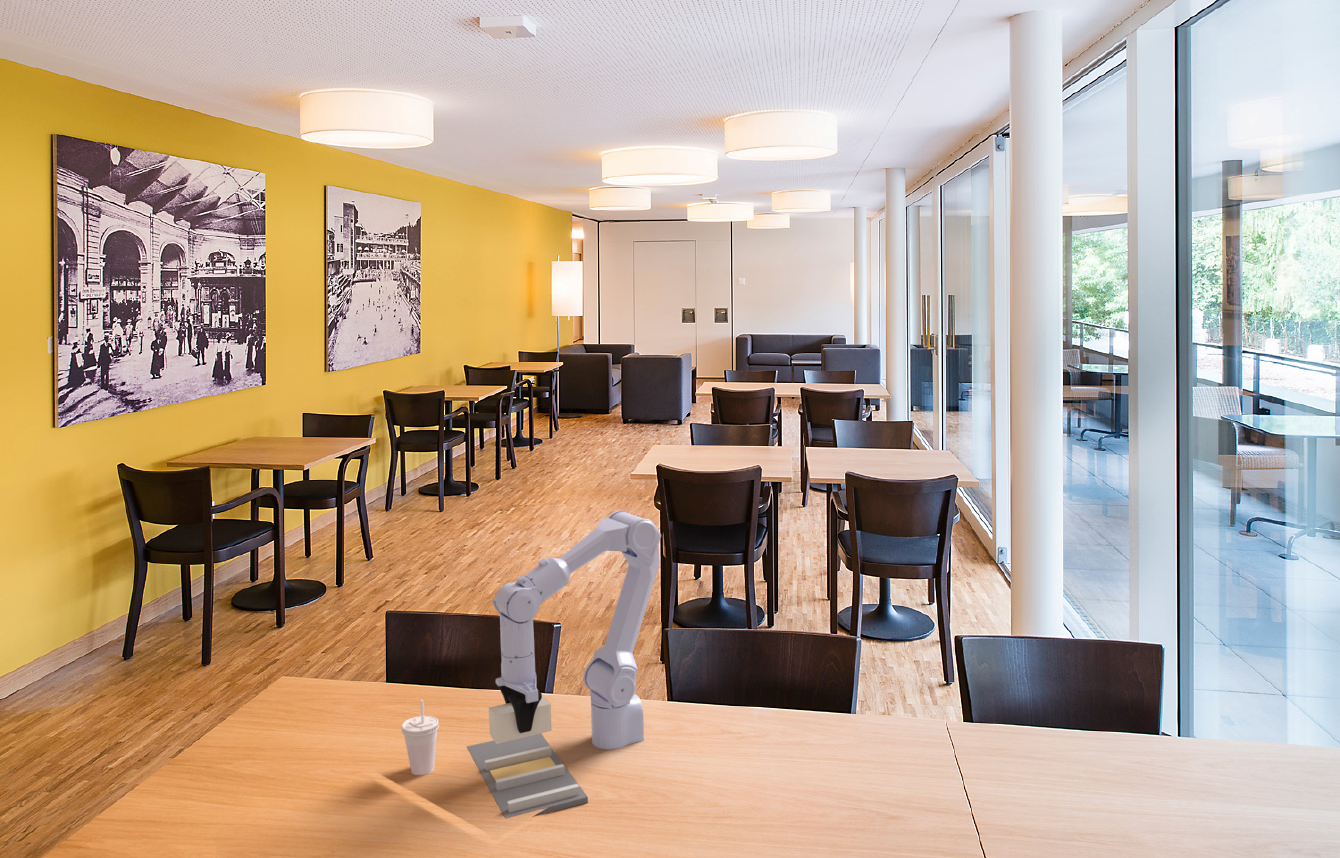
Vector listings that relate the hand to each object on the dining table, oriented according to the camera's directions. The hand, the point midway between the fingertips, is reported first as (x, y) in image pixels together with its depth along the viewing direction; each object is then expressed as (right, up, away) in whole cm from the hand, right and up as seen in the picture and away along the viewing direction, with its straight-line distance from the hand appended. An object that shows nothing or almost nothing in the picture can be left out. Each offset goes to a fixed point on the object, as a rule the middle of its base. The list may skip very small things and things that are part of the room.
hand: (520, 726), depth 160 cm
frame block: (0, -1, 0) cm, 1 cm away
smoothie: (-18, -9, +1) cm, 20 cm away
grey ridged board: (0, -9, 0) cm, 9 cm away
